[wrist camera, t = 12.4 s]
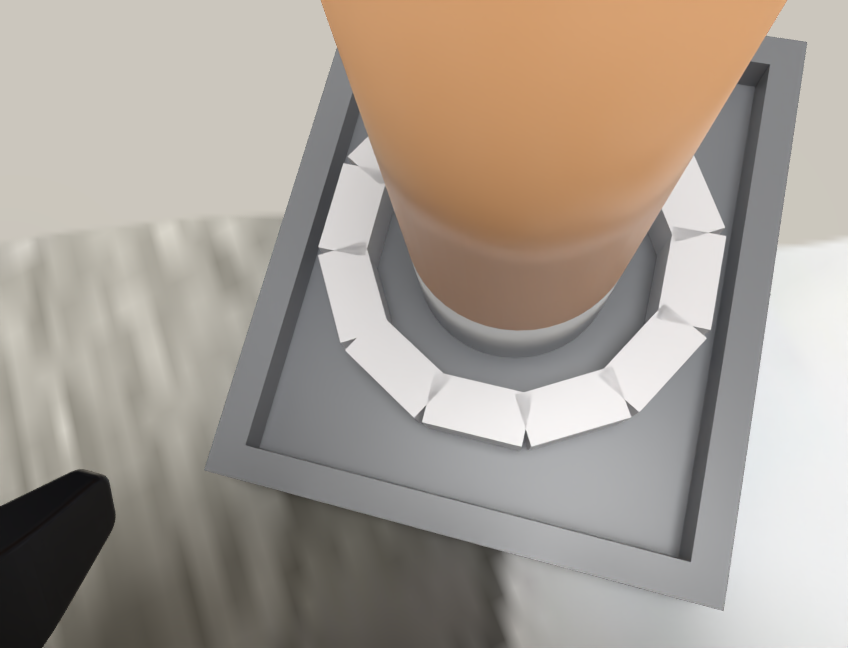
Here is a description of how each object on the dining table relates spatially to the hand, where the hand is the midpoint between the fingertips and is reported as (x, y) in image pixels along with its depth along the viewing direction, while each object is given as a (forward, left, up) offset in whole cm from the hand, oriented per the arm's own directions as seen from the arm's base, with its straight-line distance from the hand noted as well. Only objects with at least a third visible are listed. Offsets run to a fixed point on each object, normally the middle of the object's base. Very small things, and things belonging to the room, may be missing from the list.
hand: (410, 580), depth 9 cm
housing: (+5, +5, -8) cm, 11 cm away
